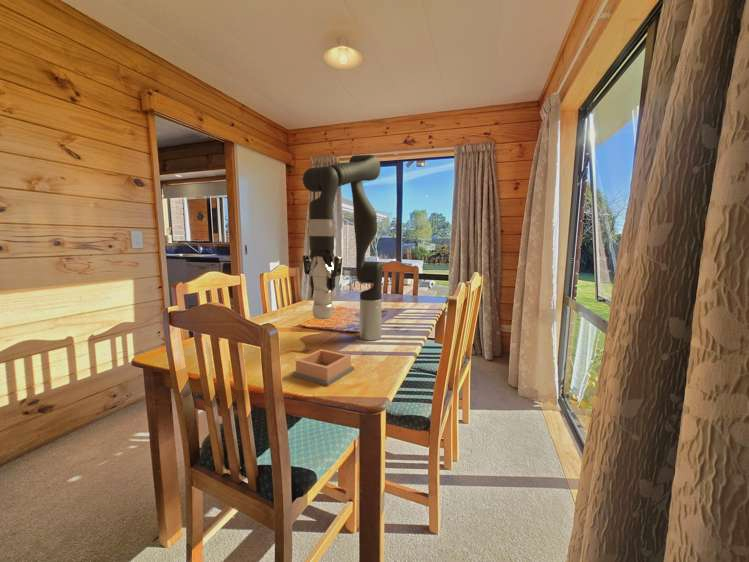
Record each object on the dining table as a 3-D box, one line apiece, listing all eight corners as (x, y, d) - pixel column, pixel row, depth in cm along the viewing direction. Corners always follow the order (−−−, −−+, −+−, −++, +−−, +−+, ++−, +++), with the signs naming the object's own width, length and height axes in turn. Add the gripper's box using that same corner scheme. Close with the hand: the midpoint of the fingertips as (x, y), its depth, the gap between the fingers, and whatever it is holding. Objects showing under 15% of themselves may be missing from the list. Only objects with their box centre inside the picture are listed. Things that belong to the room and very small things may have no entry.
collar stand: (320, 361, 116) (320, 347, 116) (354, 369, 110) (354, 355, 109) (292, 376, 104) (292, 360, 104) (328, 386, 98) (327, 369, 97)
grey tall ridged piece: (308, 320, 103) (306, 255, 100) (320, 315, 109) (319, 254, 106) (325, 322, 100) (324, 256, 98) (337, 317, 106) (336, 255, 104)
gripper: (348, 235, 101) (348, 289, 103) (311, 234, 108) (312, 285, 110) (333, 234, 94) (333, 292, 97) (295, 234, 101) (296, 288, 104)
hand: (322, 288), depth 103 cm, fingers closed on grey tall ridged piece, 6 cm apart
